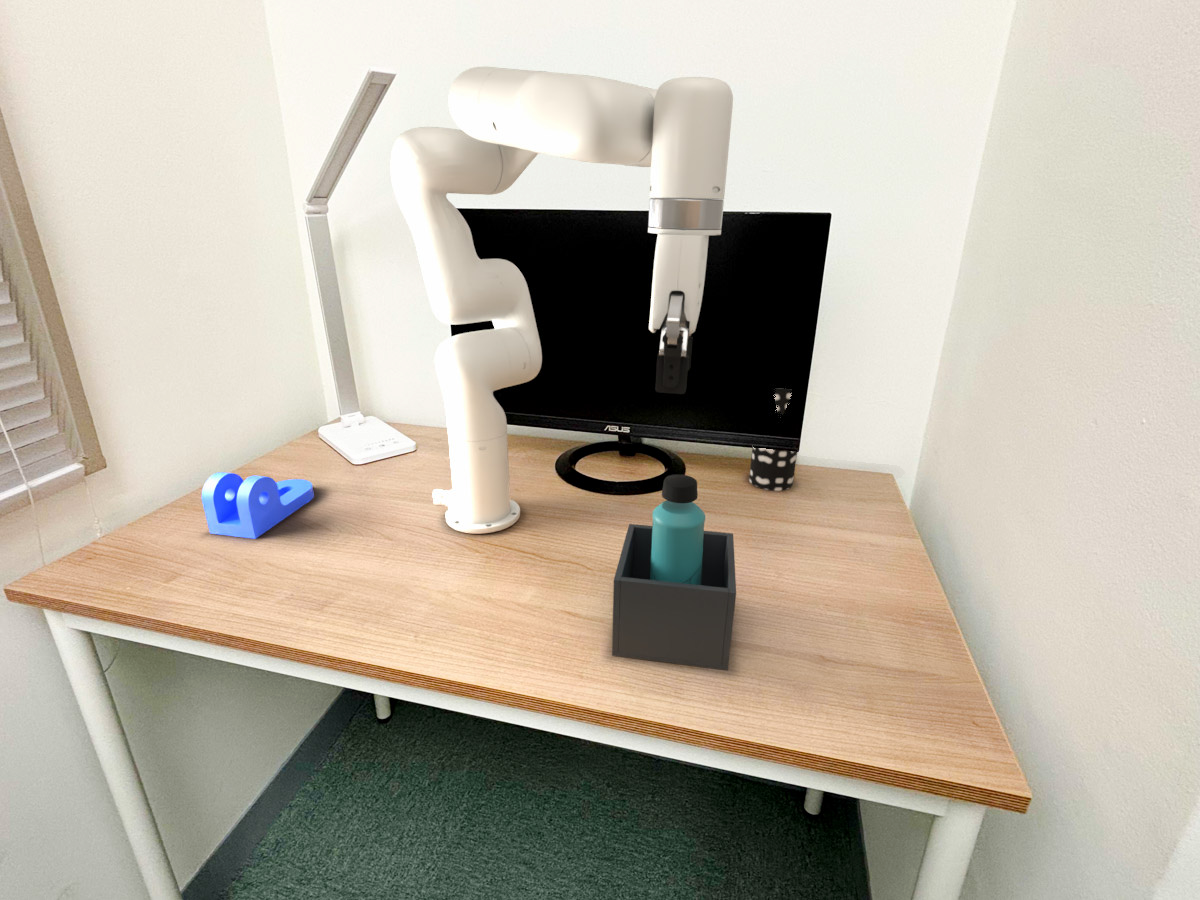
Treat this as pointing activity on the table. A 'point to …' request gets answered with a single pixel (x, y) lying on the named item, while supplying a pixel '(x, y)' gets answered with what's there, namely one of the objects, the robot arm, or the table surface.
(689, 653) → the open box
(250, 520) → the bracket
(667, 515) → the beverage bottle
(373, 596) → the table surface
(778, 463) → the white-spotted black cylinder
